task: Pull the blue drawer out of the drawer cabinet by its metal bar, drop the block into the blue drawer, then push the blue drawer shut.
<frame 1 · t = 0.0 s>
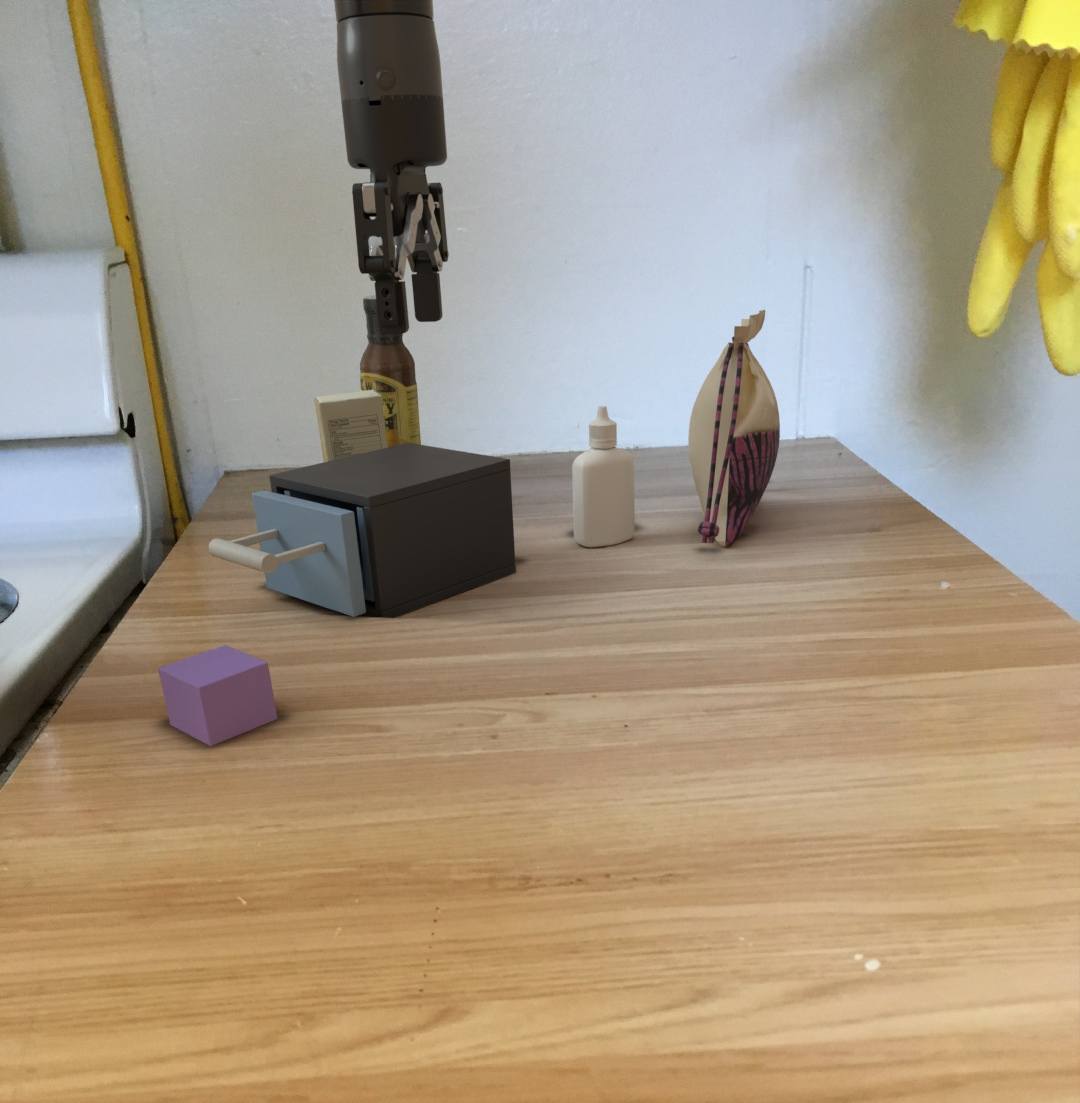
hand: (412, 327, 85), 20 cm above the table, tool pointing down, fingers open, 8 cm apart
blue drawer: (342, 541, 84), point 5 cm above the table, slide at 1.0 cm
cosmetic box: (363, 519, 108), on the table
drawer cabinet: (402, 581, 89), on the table
eye dropper bottle: (604, 543, 97), on the table
block: (226, 734, 64), on the table
pouch: (730, 524, 101), on the table
sauce bottle: (397, 482, 123), on the table
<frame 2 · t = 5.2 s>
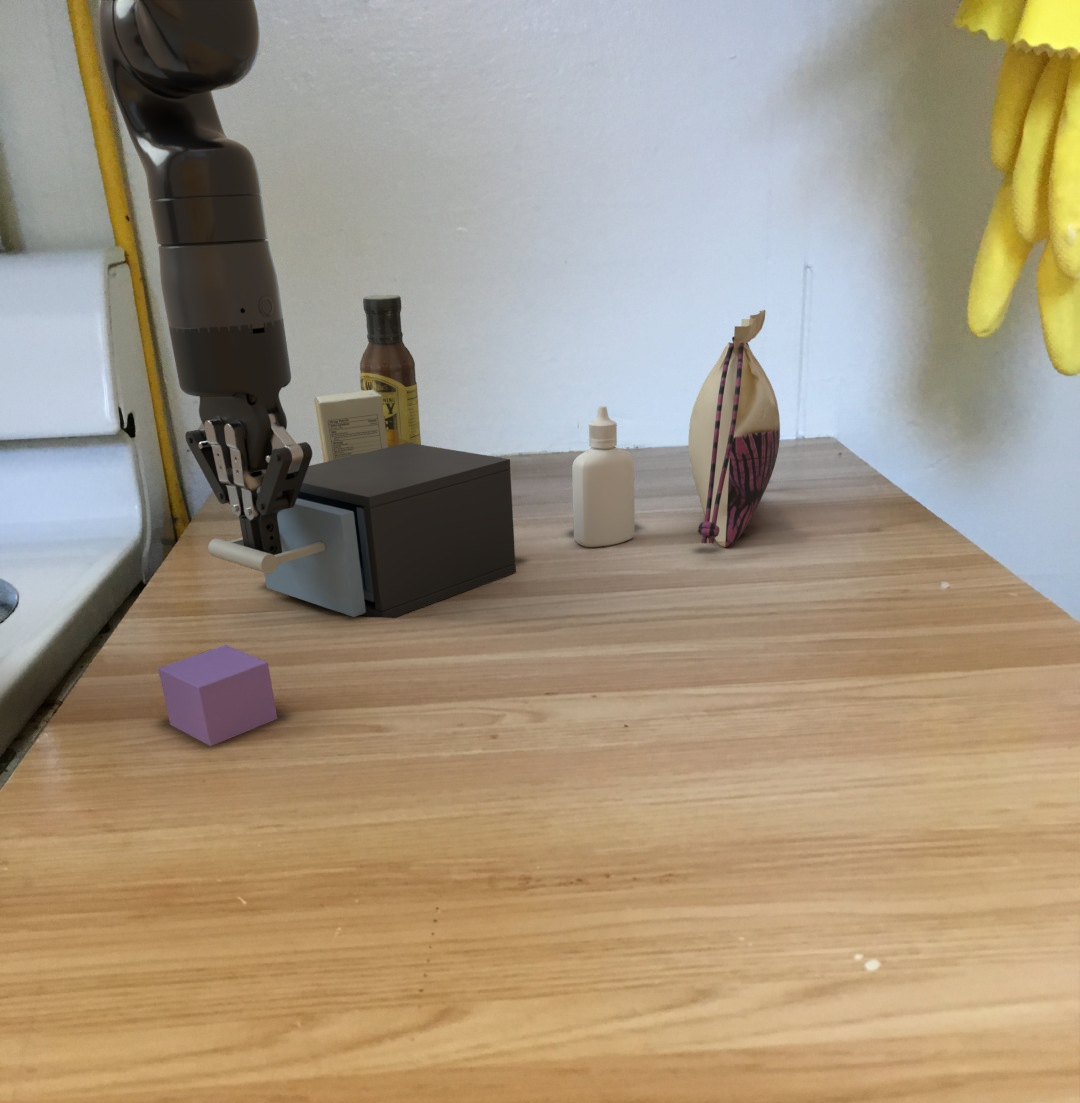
hand: (265, 564, 79), 5 cm above the table, tool pointing down, fingers closed
blue drawer: (342, 541, 84), point 5 cm above the table, slide at 1.0 cm, touching gripper
everything else where it was.
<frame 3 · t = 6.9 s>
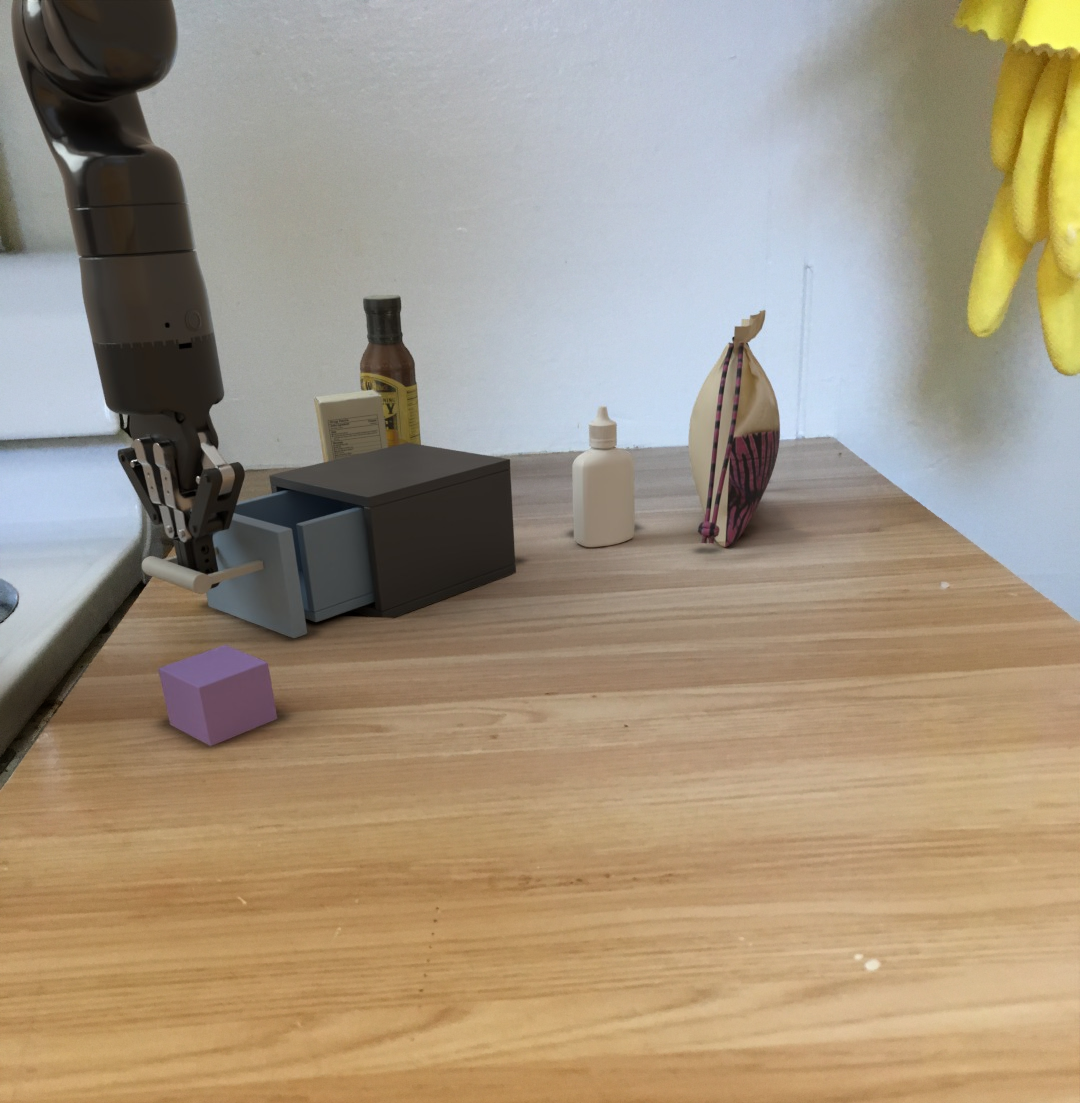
hand: (202, 587, 76), 4 cm above the table, tool pointing down, fingers closed
blue drawer: (285, 558, 80), point 5 cm above the table, slide at 6.4 cm, touching gripper
everything else where it was.
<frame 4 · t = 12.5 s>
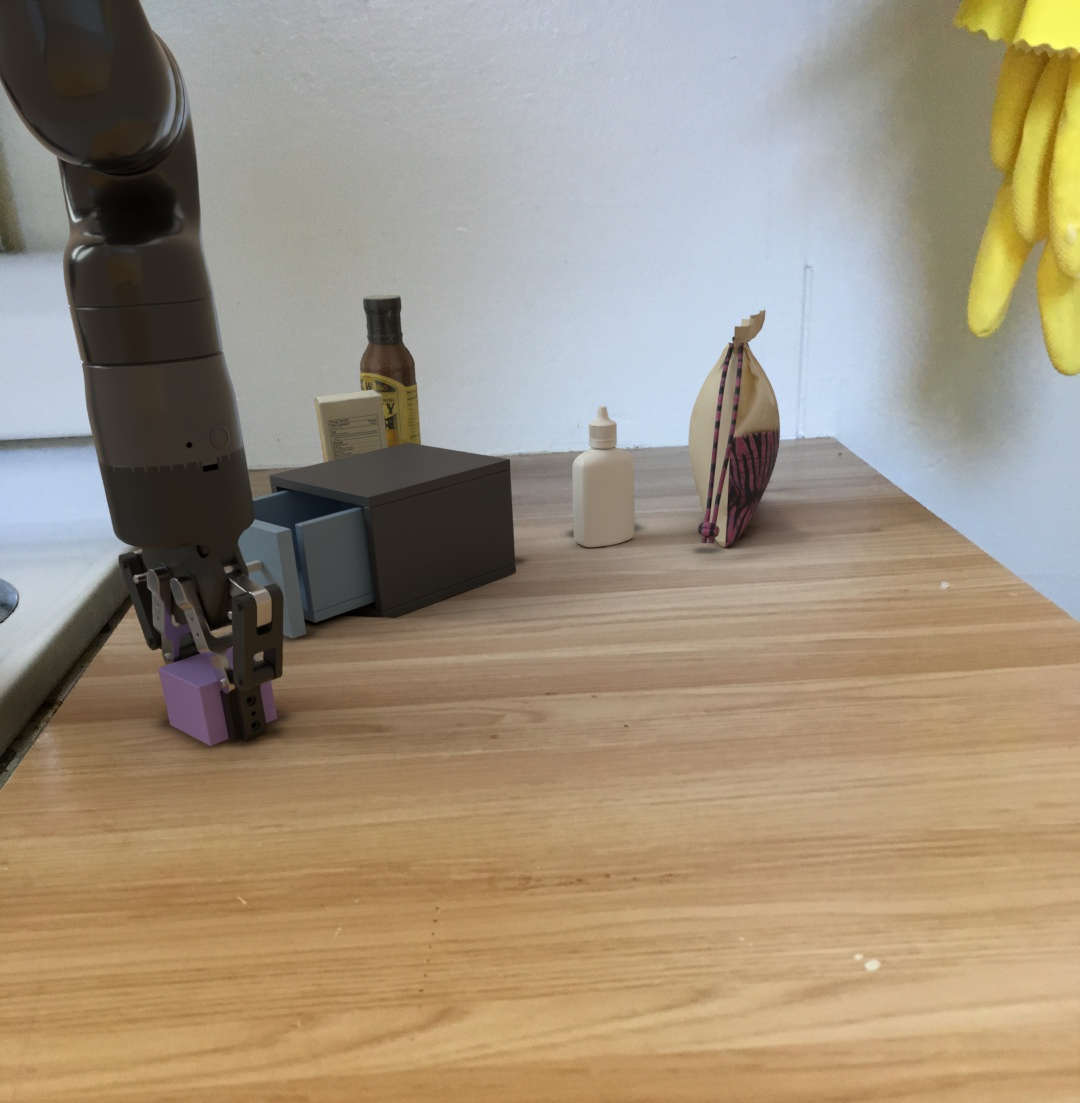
hand: (225, 729, 64), 0 cm above the table, tool pointing down, fingers closed on block, 4 cm apart
blue drawer: (284, 559, 80), point 5 cm above the table, slide at 6.5 cm
block: (226, 734, 64), on the table, touching gripper
everything else where it was.
when the fingers open (9 cm above the table, at t = 18.6 s): block drops 5 cm and tips over, resting on blue drawer.
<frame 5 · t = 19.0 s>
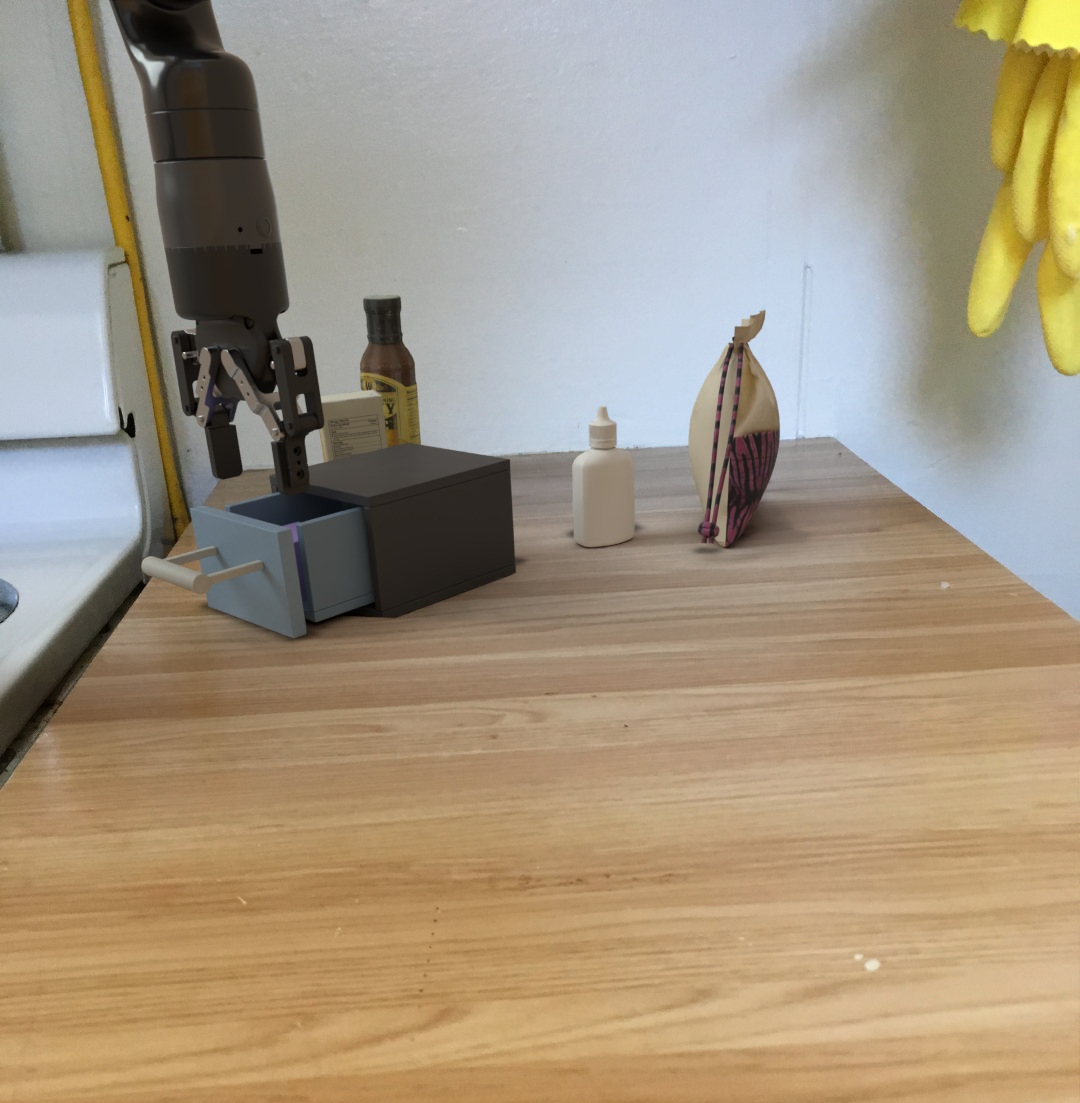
hand: (260, 484, 77), 11 cm above the table, tool pointing down, fingers open, 8 cm apart
blue drawer: (284, 558, 80), point 5 cm above the table, slide at 6.4 cm, touching block
block: (270, 569, 79), point 4 cm above the table, tilted 90°, touching blue drawer
everything else where it was.
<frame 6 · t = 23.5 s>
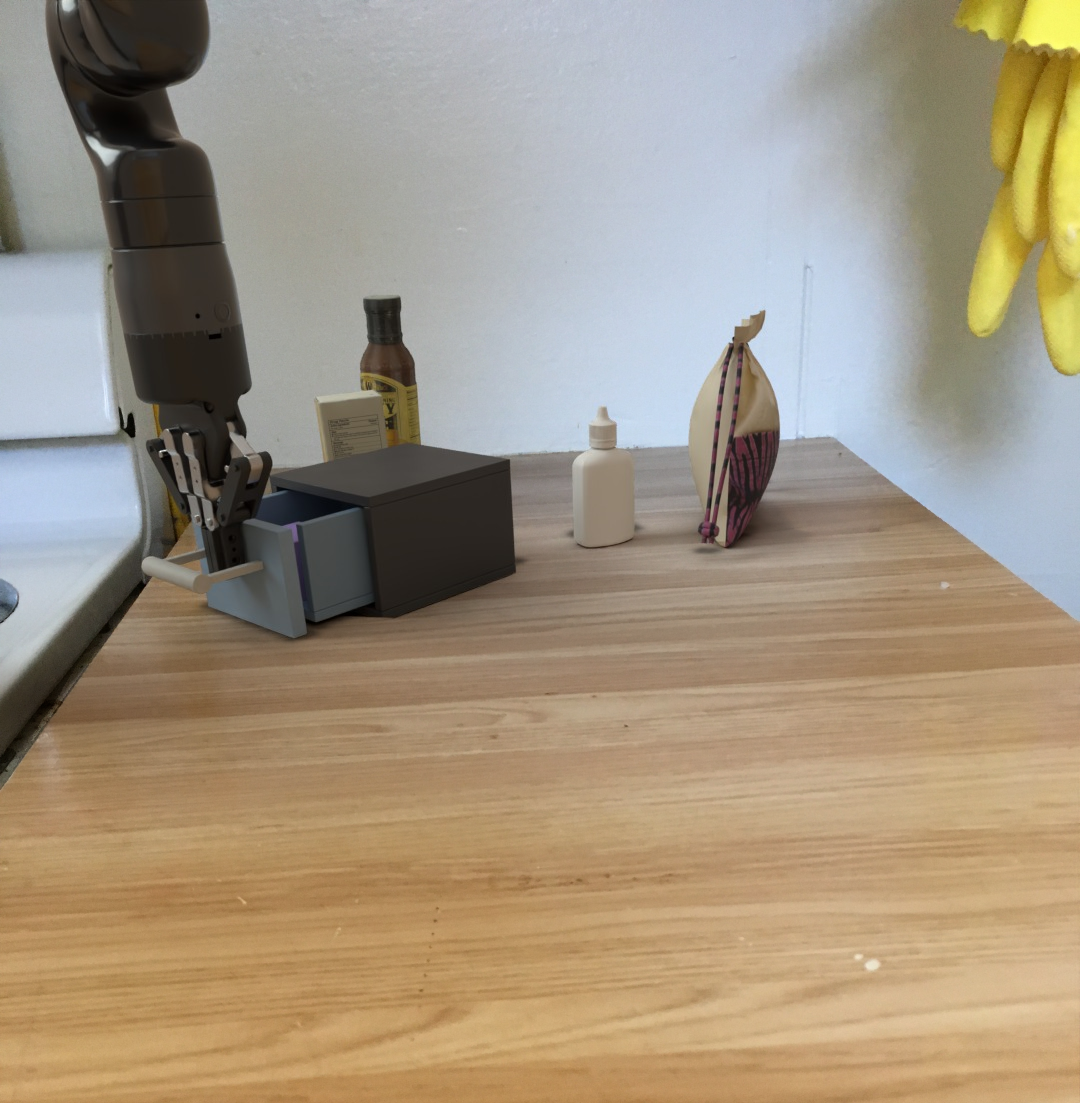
hand: (229, 576, 77), 5 cm above the table, tool pointing down, fingers closed
blue drawer: (284, 558, 80), point 5 cm above the table, slide at 6.4 cm, touching gripper, block
everything else where it was.
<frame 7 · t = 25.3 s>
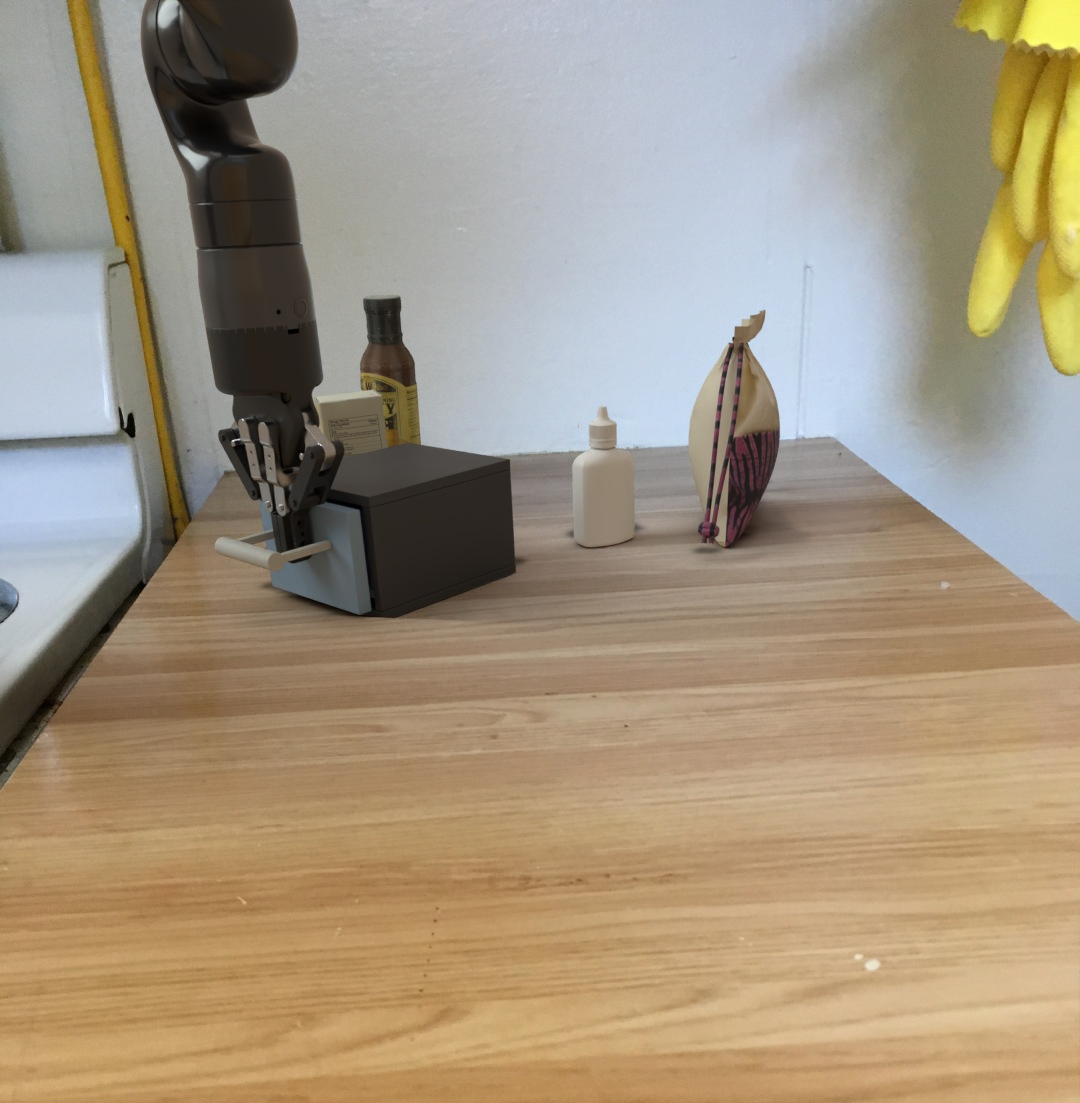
hand: (296, 559, 81), 5 cm above the table, tool pointing down, fingers closed
blue drawer: (347, 540, 84), point 5 cm above the table, slide at 0.5 cm, touching gripper, block
block: (334, 550, 83), point 4 cm above the table, tilted 90°, touching blue drawer
everything else where it was.
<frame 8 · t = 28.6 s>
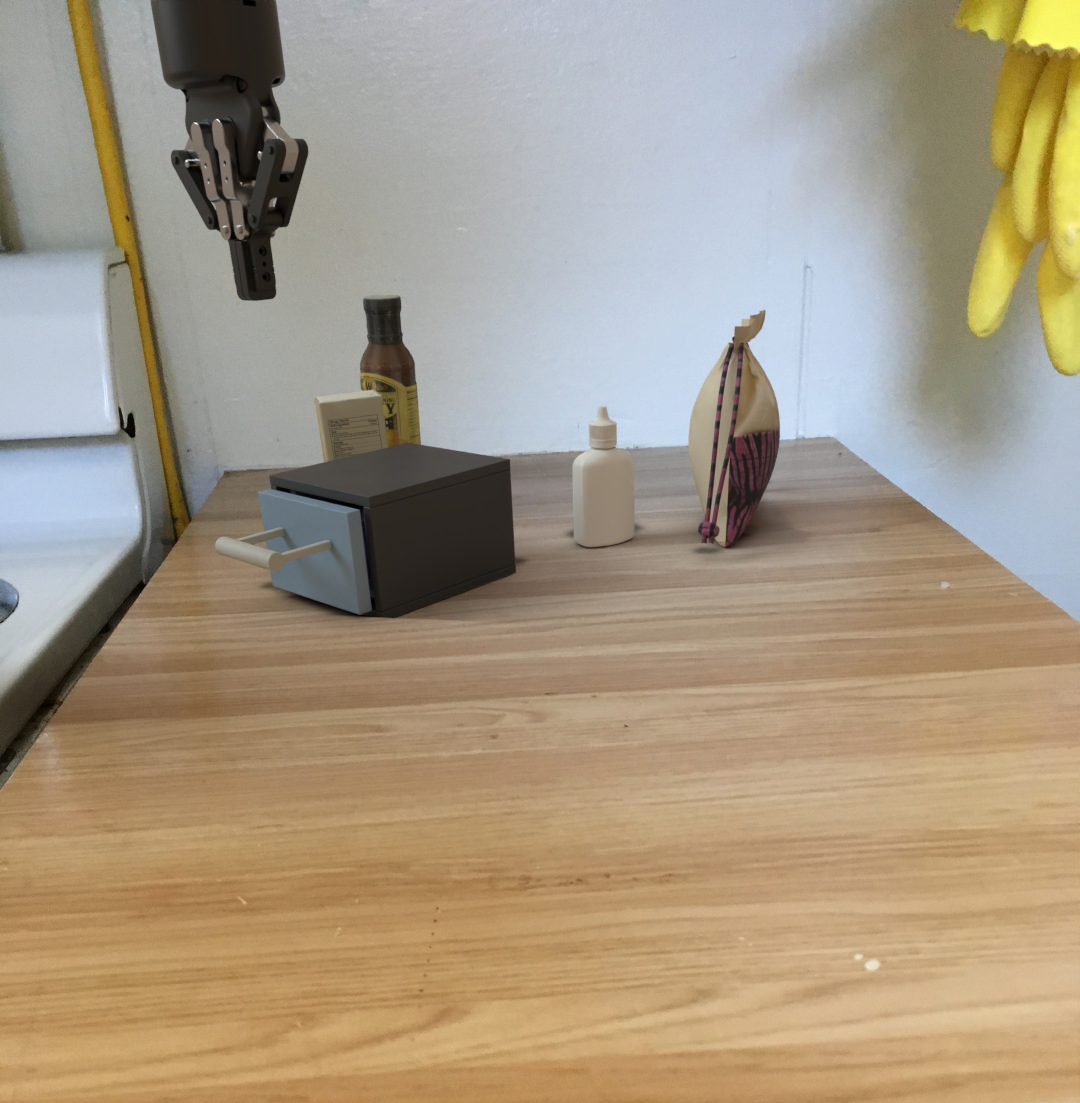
hand: (258, 299, 73), 23 cm above the table, tool pointing down, fingers closed
blue drawer: (347, 540, 84), point 5 cm above the table, slide at 0.4 cm, touching block
everything else where it was.
at the end: blue drawer pulled out 6.5 cm at the most during the clip, back to 0.4 cm at the end; block inside the target area in the drawer cabinet (6.4 cm from its centre), point 4.3 cm above the drawer cabinet's base; blue drawer slide at 0.4 cm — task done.
